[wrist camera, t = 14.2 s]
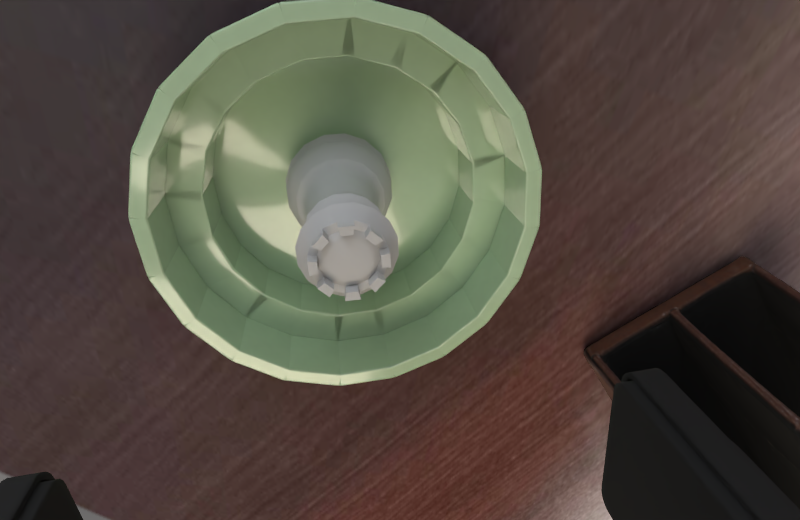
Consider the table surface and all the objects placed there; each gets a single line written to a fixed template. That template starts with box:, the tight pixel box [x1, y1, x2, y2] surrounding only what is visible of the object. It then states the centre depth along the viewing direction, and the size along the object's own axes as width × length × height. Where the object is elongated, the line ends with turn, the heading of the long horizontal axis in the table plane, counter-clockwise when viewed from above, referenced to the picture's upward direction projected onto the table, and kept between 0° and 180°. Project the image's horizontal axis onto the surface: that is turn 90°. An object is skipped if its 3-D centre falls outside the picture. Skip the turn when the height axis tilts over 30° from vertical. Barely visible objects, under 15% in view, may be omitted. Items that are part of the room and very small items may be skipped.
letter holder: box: [584, 256, 800, 509], centre depth 27 cm, size 10×20×14 cm, turn 33°
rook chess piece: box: [285, 133, 399, 301], centre depth 20 cm, size 4×4×8 cm
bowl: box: [128, 0, 542, 386], centre depth 21 cm, size 14×14×6 cm
